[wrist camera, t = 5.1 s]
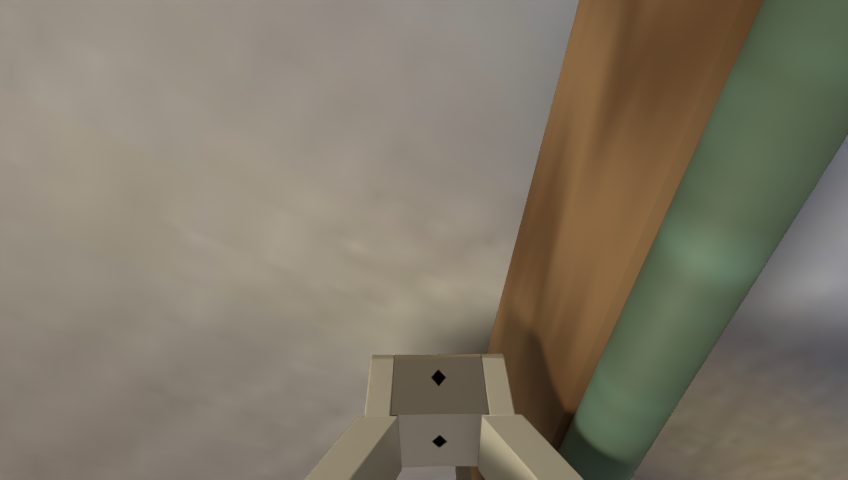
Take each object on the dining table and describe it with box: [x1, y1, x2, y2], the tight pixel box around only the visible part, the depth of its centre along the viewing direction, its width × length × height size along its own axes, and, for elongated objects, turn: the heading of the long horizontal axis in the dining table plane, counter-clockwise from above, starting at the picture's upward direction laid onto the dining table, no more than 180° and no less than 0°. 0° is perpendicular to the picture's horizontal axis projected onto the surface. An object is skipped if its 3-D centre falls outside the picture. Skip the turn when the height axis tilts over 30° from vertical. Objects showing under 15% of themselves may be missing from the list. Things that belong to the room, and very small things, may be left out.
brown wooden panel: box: [471, 0, 848, 480], centre depth 12 cm, size 17×2×7 cm, turn 174°
